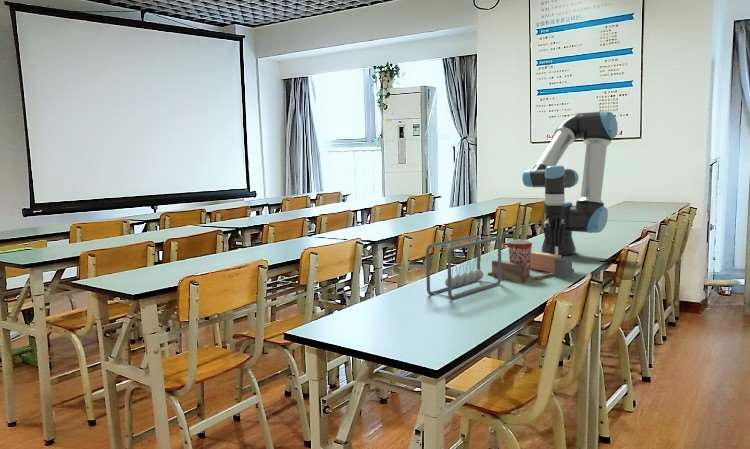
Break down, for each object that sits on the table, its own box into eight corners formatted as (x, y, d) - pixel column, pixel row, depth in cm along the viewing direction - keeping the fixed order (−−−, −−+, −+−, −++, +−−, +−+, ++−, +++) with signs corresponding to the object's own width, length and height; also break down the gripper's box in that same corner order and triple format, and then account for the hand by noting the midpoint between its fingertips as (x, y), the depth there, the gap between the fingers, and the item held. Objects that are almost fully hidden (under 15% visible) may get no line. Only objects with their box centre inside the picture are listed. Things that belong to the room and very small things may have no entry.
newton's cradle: (450, 300, 197) (449, 248, 194) (426, 296, 204) (425, 245, 202) (501, 284, 217) (501, 236, 215) (478, 280, 225) (478, 234, 222)
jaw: (532, 266, 245) (532, 250, 244) (561, 272, 233) (561, 255, 232) (526, 267, 243) (526, 252, 242) (555, 273, 231) (555, 256, 230)
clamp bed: (537, 264, 249) (537, 250, 249) (573, 271, 234) (573, 256, 234) (488, 275, 233) (487, 260, 232) (524, 282, 218) (524, 266, 217)
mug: (525, 279, 223) (525, 244, 221) (503, 276, 229) (503, 242, 228) (540, 273, 232) (541, 239, 231) (520, 270, 238) (520, 237, 237)
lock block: (562, 275, 229) (562, 257, 228) (571, 277, 225) (572, 258, 224) (554, 276, 226) (554, 258, 225) (564, 278, 222) (564, 260, 221)
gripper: (557, 202, 245) (556, 258, 248) (536, 205, 238) (536, 263, 241) (572, 203, 239) (572, 261, 242) (551, 206, 231) (551, 265, 234)
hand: (554, 262), depth 241 cm, fingers closed
